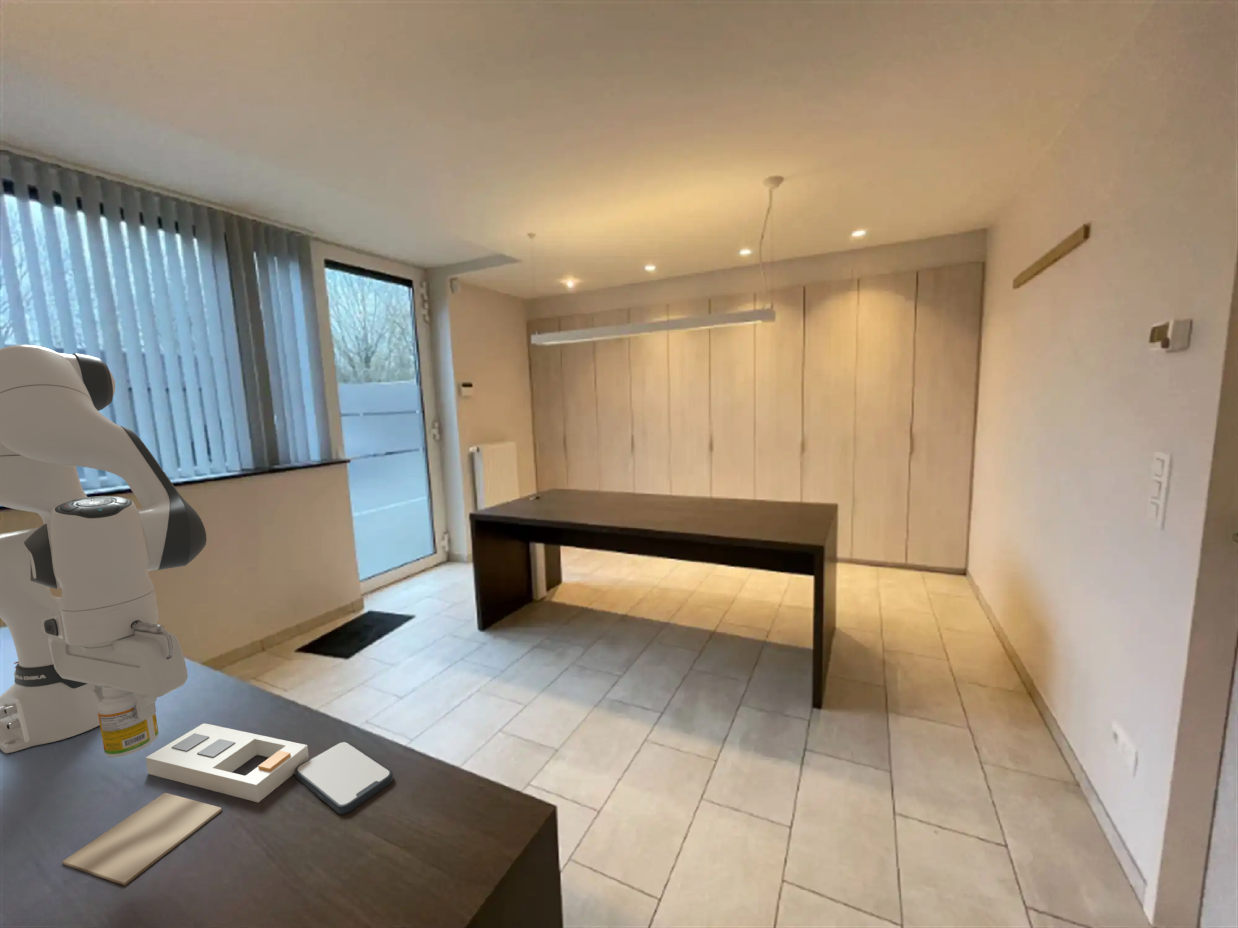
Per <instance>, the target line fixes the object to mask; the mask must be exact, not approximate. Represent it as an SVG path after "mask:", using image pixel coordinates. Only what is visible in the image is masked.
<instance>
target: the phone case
mask: <svg viewBox="0 0 1238 928" xmlns="http://www.w3.org/2000/svg"><path fill="white" fill-rule="evenodd" d="M294 776H295V778H296V779H297V780H298V781H299V782H300V783H301V784H303V785H304V786H305V787H306V788H308V789H309V791H311V792H312V793H313V794H314V795H316V796H317V797H318V798H319V799H320V800H322V801H323V802H324V803H325V804H326V805H328V807H330V808H331V809H333V810H334V811H335V812H336V813H337V814H339V815H346V814H348V813H351V812H352V811H353V810H355V809H356V808H358V807H359V806H361V805H362V804H363V803H365V802H367V800H369V799H370V798H372V797H373V796H375V795H377V794H378V793H379V792H381V791H382V790H384V789H385V788H386V787H388V786H389V785H391V783H392V782H393V780H394V774H393V771H392V770H390V769H389V768H388V767H386V766H385V765H383V764H382V763H380V762H378V761H377V760H376V759H374V758H373V757H371V756H370V755H368V754H367V753H365V752H364V751H362V750H361V749H359V748H357V747H356V746H355V745H353V744H351V743H350V742H349V741H340V742H337V743H336V744H334V745H332V746H331V747H328V749H325V750H324V751H322V752H320V753H318V754H317V755H315V756H313V757H311V758H309V760H308V761H306V762H304V763H302V764H301V765H299V766H298V767H297V768H296V769H295V773H294Z"/></svg>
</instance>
